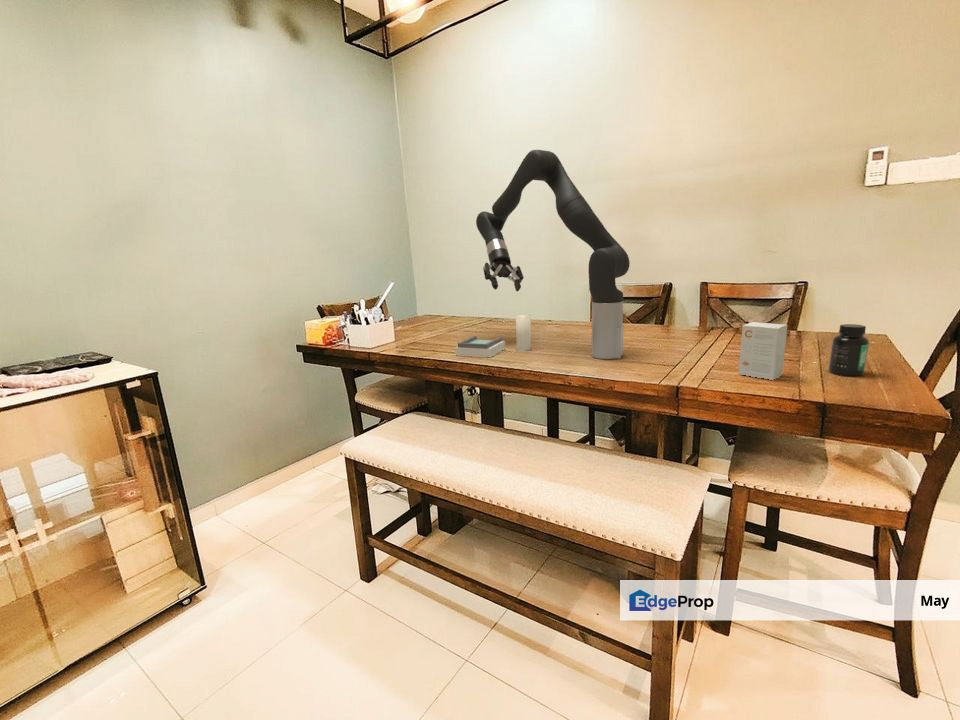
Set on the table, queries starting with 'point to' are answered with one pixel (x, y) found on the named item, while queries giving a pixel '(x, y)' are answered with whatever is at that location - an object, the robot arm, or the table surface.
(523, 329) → the canister
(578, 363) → the table surface
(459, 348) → the tray
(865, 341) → the supplement bottle
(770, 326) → the small box
